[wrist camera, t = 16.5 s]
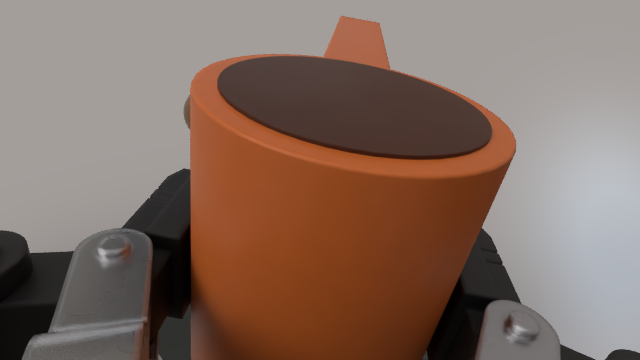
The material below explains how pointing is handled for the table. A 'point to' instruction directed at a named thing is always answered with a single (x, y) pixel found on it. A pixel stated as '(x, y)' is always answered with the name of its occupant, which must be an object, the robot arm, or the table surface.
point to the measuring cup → (332, 202)
